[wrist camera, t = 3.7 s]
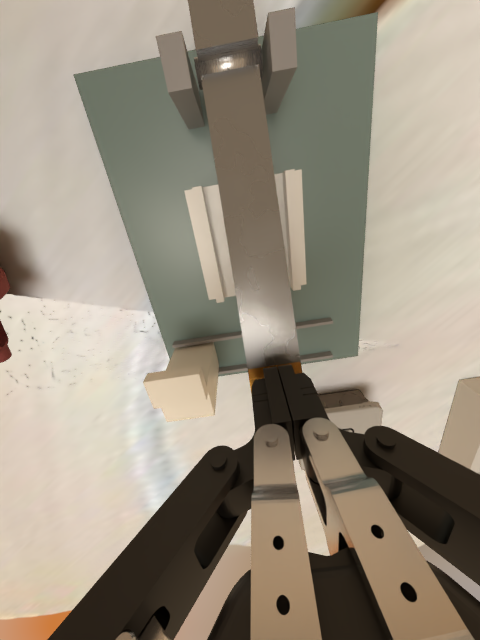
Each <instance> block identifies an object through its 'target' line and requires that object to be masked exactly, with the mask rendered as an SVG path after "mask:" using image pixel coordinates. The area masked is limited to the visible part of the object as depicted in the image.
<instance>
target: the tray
mask: <svg viewBox="0 0 480 640" xmlns="http://www.w3.org/2000/svg"><path fill="white" fill-rule="evenodd" d="M438 453H440V454H442V455H443V456H445V457H447V458H449V459H451V460H453V461H455V462H457V463H459V464H461V465H463V466H465V467H467V468H469V469H470V470H472V471H474V472H476V473H478V474H480V377H477V378H470V379H463V380H459V382H458V386H457V389H456V393H455V396H454V400H453V403H452V407H451V410H450V414H449V417H448V421H447V424H446V428H445V431H444V435H443V438H442V442H441V445H440V449H439V452H438Z"/></svg>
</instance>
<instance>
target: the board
mask: <svg viewBox="0 0 480 640" xmlns="http://www.w3.org/2000/svg"><path fill="white" fill-rule="evenodd" d="M377 19H378V12H377V13H372V14H367V15H362V16H358V17H353V18H348V19H343V20H338V21H333V22H328V23H323V24H319V25H314V26H309V27H304V28H299V29H296V26H295V7H294V8H289V9H284V10H279V11H275V12H270V13H268V17H267V22H266V28H265V33H264V36H260V37H258V44H260V45H261V49H262V59H263V75H262V78H261V83H262V90H263V97H264V105H265V112H266V119H267V126H268V133H269V140H270V147H271V154H272V161H273V168H274V176H275V183H276V190H277V197H278V204H279V211H280V218H281V225H282V232H283V240H284V247H285V254H286V261H287V268H288V275H289V282H290V289H291V296H292V304H293V311H294V318H295V325H296V332H297V339H298V346H299V353H300V360H301V364H306V363H313V362H320V361H326V360H333V359H340V358H347V357H354V356H358V344H359V327H360V310H361V293H362V275H363V258H364V241H365V224H366V207H367V190H368V173H369V156H370V139H371V122H372V105H373V88H374V71H375V54H376V36H377ZM156 39H157V44H158V48H159V53H160V57H157V58H152V59H148V60H143V61H138V62H133V63H128V64H123V65H118V66H113V67H109V68H104V69H99V70H94V71H89V72H84V73H79V74H74V78H75V81H76V84H77V87H78V90H79V93H80V96H81V99H82V101H83V104H84V107H85V110H86V113H87V116H88V119H89V122H90V125H91V128H92V131H93V134H94V137H95V140H96V143H97V146H98V149H99V152H100V155H101V158H102V160H103V163H104V166H105V169H106V172H107V175H108V178H109V181H110V184H111V187H112V190H113V193H114V196H115V199H116V202H117V205H118V208H119V211H120V214H121V217H122V220H123V222H124V225H125V228H126V231H127V234H128V237H129V240H130V243H131V246H132V249H133V252H134V255H135V258H136V261H137V264H138V267H139V270H140V273H141V276H142V279H143V282H144V284H145V287H146V290H147V293H148V296H149V299H150V302H151V305H152V308H153V311H154V314H155V317H156V320H157V323H158V326H159V329H160V332H161V335H162V338H163V341H164V343H165V346H166V349H167V352H168V355H169V358H170V359H171V357H172V354H173V352H174V349H175V348H177V347H184V346H190V345H197V344H203V343H210V342H214V346H215V350H216V354H217V358H218V363H219V371H218V376H224V375H231V374H238V373H245V372H248V368H247V362H246V355H245V349H244V343H243V337H242V330H241V324H240V318H239V312H238V305H237V299H236V293H235V287H234V280H233V274H232V268H231V262H230V255H229V249H228V243H227V237H226V230H225V224H224V218H223V212H222V205H221V199H220V193H219V186H218V180H217V174H216V168H215V161H214V155H213V149H212V143H211V136H210V130H209V124H208V118H207V111H206V105H205V99H204V93H203V89H202V90H200V89H199V84H198V79H197V74H196V69H195V63H194V58H195V57H197V53H196V50H192V51H187V49H186V45H185V42H184V38H183V35H182V31H179V32H174V33H169V34H164V35H160V36H156Z"/></svg>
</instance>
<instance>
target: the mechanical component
mask: <svg viewBox="0 0 480 640" xmlns="http://www.w3.org/2000/svg"><path fill="white" fill-rule="evenodd" d="M9 289H10V285H9V282H8V280H7V277H6V274H5V272H4V270H3V269H2V268H0V299H2V297H3V296H4V295H5V294H6V293H7V292H8V291H9ZM7 344H8V337H7V334H6V332H5V330H4V328H3V325H2V323H1V321H0V363H1V362H4V361H6V360H8V359H9V358H10V357H11V355H12V354H11V352H10V349H9V347H8V345H7Z"/></svg>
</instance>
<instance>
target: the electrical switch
mask: <svg viewBox="0 0 480 640" xmlns="http://www.w3.org/2000/svg"><path fill="white" fill-rule="evenodd" d="M318 396H319V398H320V400H321V403H322V405H323V407H324V409H325V411H326V414H327V416H328V418H329V420H330V421H331V422H333V423H334V424H335V425H336V426H337V427H338V428H340V429H342V430H345V431H348V432H354V433H360V434H365V432H366V430H367V429H369V428H370V427H373V426H381V423H382V413H383V410H382V408H381V407H380V405H379V403H378V402H370V401H369V402H368V400H367V399H366V398H365V397H364V396H363V394H362V393H361V392H360V390H353V391H346V392H338V393H331V394H323V395H318ZM339 401H340V402H341V403H340V402H339ZM299 464H300V467H301V469H302V470H304V471H305V466H304V463H303V459H299Z"/></svg>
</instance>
